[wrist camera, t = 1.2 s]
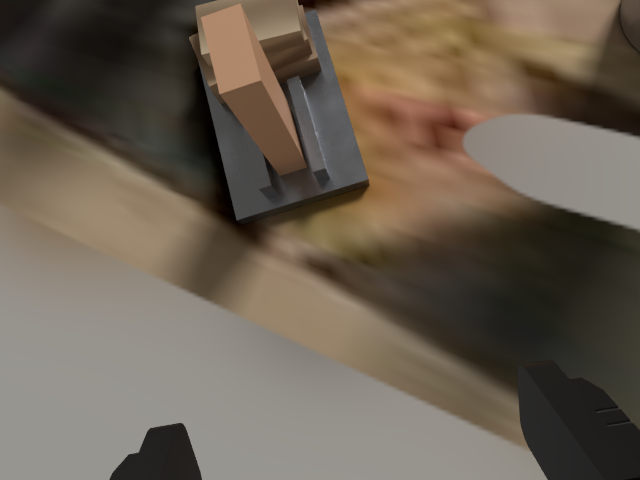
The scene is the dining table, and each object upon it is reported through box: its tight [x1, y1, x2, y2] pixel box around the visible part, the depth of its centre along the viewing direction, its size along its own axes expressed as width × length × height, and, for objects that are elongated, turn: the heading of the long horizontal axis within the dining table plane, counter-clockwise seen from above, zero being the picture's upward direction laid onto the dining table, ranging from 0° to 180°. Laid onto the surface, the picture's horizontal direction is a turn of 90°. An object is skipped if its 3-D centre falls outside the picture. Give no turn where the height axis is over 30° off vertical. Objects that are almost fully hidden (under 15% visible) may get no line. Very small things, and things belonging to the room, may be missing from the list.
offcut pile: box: [189, 0, 322, 104], centre depth 41 cm, size 6×9×6 cm, turn 106°
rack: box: [199, 9, 369, 224], centre depth 42 cm, size 16×11×4 cm
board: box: [201, 3, 308, 176], centre depth 35 cm, size 5×2×14 cm, turn 15°
